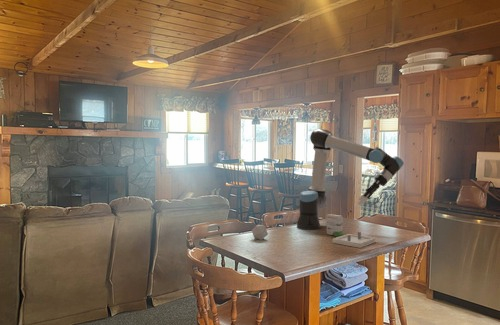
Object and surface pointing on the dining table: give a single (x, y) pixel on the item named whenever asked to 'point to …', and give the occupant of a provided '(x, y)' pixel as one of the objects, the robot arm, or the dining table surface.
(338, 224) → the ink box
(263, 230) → the die
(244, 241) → the dining table surface
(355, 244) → the pin tray
